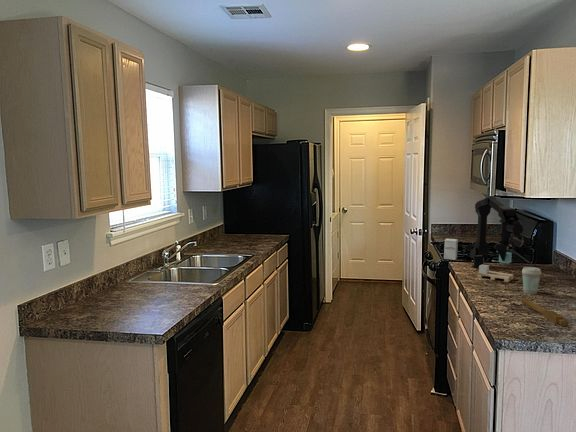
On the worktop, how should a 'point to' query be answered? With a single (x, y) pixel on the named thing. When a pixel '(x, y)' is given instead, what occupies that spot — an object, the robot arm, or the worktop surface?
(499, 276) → the pallet dock
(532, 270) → the coffee cup
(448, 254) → the supplement box
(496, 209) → the robot arm
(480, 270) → the gray cube
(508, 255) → the teal cube box
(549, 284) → the worktop surface
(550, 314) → the tap handle
